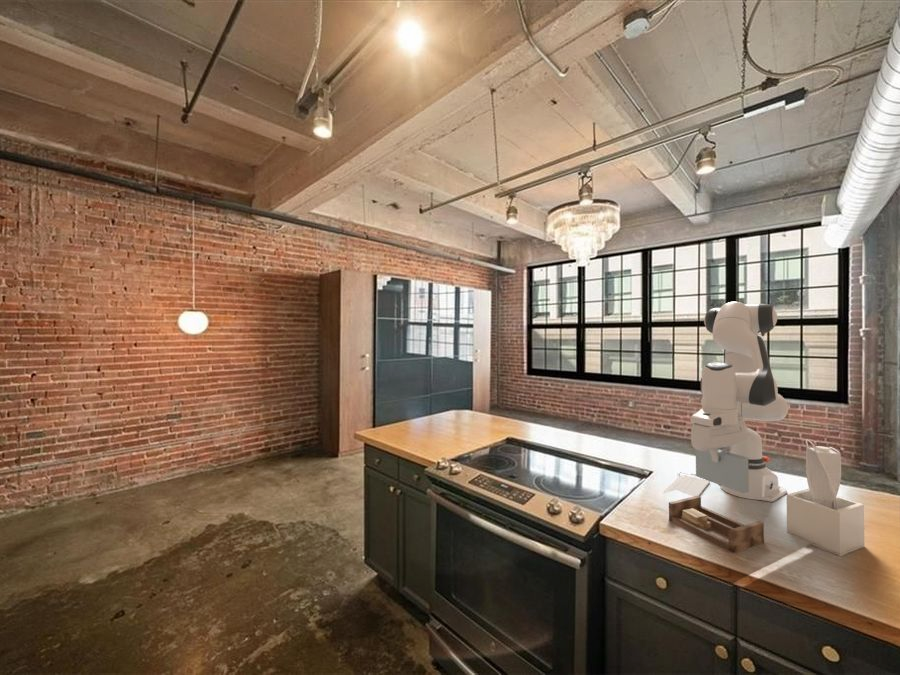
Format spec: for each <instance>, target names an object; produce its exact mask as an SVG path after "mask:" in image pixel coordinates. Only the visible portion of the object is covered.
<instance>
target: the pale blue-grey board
mask: <svg viewBox="0 0 900 675" xmlns="http://www.w3.org/2000/svg"><path fill="white" fill-rule="evenodd" d="M694 449H695V448H694ZM717 453H718V456H721V459H720V460H721V461H720V462H713V461H712V455H711V454H710V452H709V450H707V451H701V450H698V449H695V474H696V475H695V477H696V478H699V479H703V480H708V481H710V483H713V484H715V485H718V486H720V487H721V486H724V487H727V488H729V489H732V490H735V491H738V492H740V493H747V492H749V470H748V458H747V457H743V456H740V455H736V454H733V453H729V452H725V451H723V449H718V452H717Z"/></svg>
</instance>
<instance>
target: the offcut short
mask: <svg viewBox="0 0 900 675" xmlns="http://www.w3.org/2000/svg"><path fill="white" fill-rule="evenodd" d="M682 516H683V517H684V518H686V519H688V520H690V521H692V522H694V523H695V524H700V523H705V522H707V515H705V514H703V513H701V512H699V511H697V510H695V509H693V508H691V509H686V510H682Z"/></svg>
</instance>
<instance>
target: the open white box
mask: <svg viewBox="0 0 900 675" xmlns="http://www.w3.org/2000/svg"><path fill="white" fill-rule="evenodd" d="M810 495H811V494H810V491H809V488H806V489H802V490H798V491H795V492H792V493H789V494H787V493H786V495H785V496H786V531H787V532H786V533H787V534H790V535H792V536H794V537H798V538H799V539H802V540H804V541H808V542H810V545H812V546H815V547H817V548H819V549H822V550H825V551H826V552H827V551H828V552H829V553H832V554H834V555H836V556H839V557H841V556H844V555H846V554H849V553H851V552H854V551H856V550H859V549H862V548H865V504H863V503H861V502H859V501H858V502H857V501H854V500H850V499H848V498H844V497H840V496H838V495H837V496H836V499H837V503H838V508H839V509H838V510H835V509H832V508H829V507H826V506H823V505H820V504H817V503H814V502H811V501H810Z"/></svg>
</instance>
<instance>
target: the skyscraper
mask: <svg viewBox="0 0 900 675" xmlns="http://www.w3.org/2000/svg"><path fill="white" fill-rule="evenodd" d="M808 442H809V443H810V444H811V446H812V447H809V444H808ZM805 446H806V447H805V448H806V451H805V472H806V479H807V486H808V489H809V491H810V494H811V495H810V501H811V502H814V503H817V504H820V505H823V506H826V507H829V508H832V509H835V510H838V509H839V508H838V503H837V499H836V496H838V492H839V490H840V485H841V481H842V480H841V479H842V457H841V456H842V454H841V452H840V451H839V450H838V449H837V448H834V447H833V446H829V447H827V446H822V445H817V446H815V444H814V443H813V442H812V440H810V439H808V438H806V439H805Z"/></svg>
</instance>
